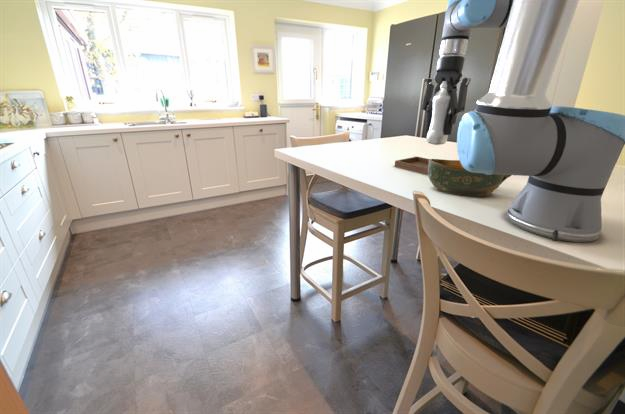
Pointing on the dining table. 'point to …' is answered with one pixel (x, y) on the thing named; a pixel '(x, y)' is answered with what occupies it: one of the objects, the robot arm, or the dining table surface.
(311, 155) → the dining table surface
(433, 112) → the plastic bottle
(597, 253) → the dining table surface
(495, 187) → the green patterned bowl
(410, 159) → the tray
